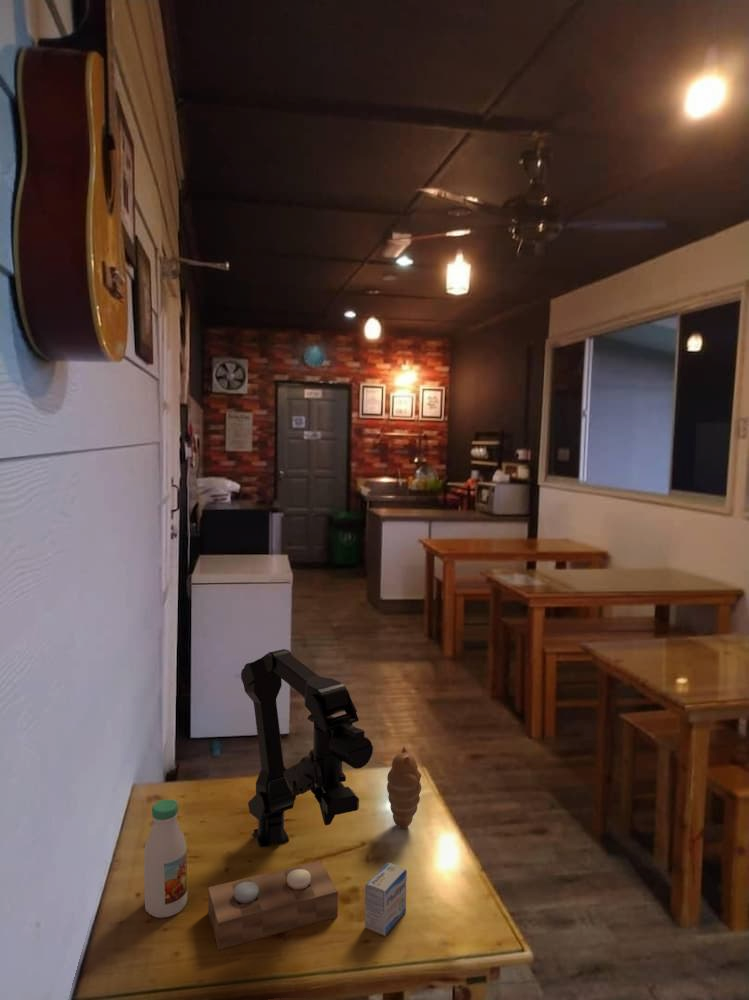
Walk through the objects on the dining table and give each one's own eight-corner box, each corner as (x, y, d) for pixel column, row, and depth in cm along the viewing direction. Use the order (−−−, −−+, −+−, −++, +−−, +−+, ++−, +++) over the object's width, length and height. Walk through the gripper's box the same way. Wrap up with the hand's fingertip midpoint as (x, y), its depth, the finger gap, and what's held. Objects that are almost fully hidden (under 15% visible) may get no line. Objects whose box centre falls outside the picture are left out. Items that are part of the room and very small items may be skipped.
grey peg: (231, 913, 128) (231, 885, 127) (255, 906, 130) (255, 879, 129) (236, 928, 124) (236, 900, 123) (260, 922, 126) (260, 894, 125)
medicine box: (384, 937, 124) (385, 892, 123) (363, 927, 126) (364, 883, 125) (406, 912, 130) (407, 868, 129) (386, 903, 133) (387, 860, 132)
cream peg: (284, 899, 132) (284, 872, 131) (306, 893, 134) (306, 866, 133) (290, 914, 128) (290, 886, 127) (313, 908, 130) (313, 880, 129)
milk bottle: (148, 924, 126) (146, 820, 124) (141, 898, 132) (139, 799, 130) (191, 911, 129) (190, 810, 127) (182, 887, 136) (181, 790, 134)
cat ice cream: (423, 836, 154) (425, 759, 152) (389, 839, 153) (390, 761, 151) (415, 814, 163) (417, 741, 161) (383, 816, 162) (384, 743, 160)
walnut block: (208, 912, 129) (208, 887, 128) (320, 883, 138) (320, 860, 137) (218, 949, 120) (218, 923, 119) (337, 916, 129) (337, 891, 128)
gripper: (275, 734, 140) (274, 808, 141) (302, 778, 122) (301, 861, 124) (327, 726, 144) (326, 797, 146) (360, 767, 127) (359, 847, 128)
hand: (327, 824), depth 136 cm, fingers closed
